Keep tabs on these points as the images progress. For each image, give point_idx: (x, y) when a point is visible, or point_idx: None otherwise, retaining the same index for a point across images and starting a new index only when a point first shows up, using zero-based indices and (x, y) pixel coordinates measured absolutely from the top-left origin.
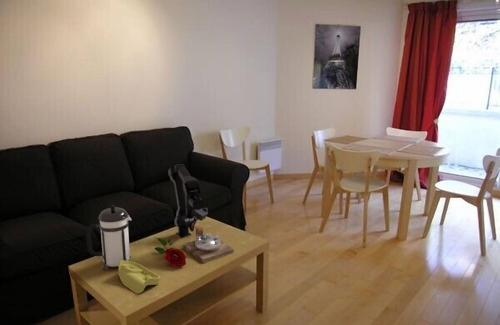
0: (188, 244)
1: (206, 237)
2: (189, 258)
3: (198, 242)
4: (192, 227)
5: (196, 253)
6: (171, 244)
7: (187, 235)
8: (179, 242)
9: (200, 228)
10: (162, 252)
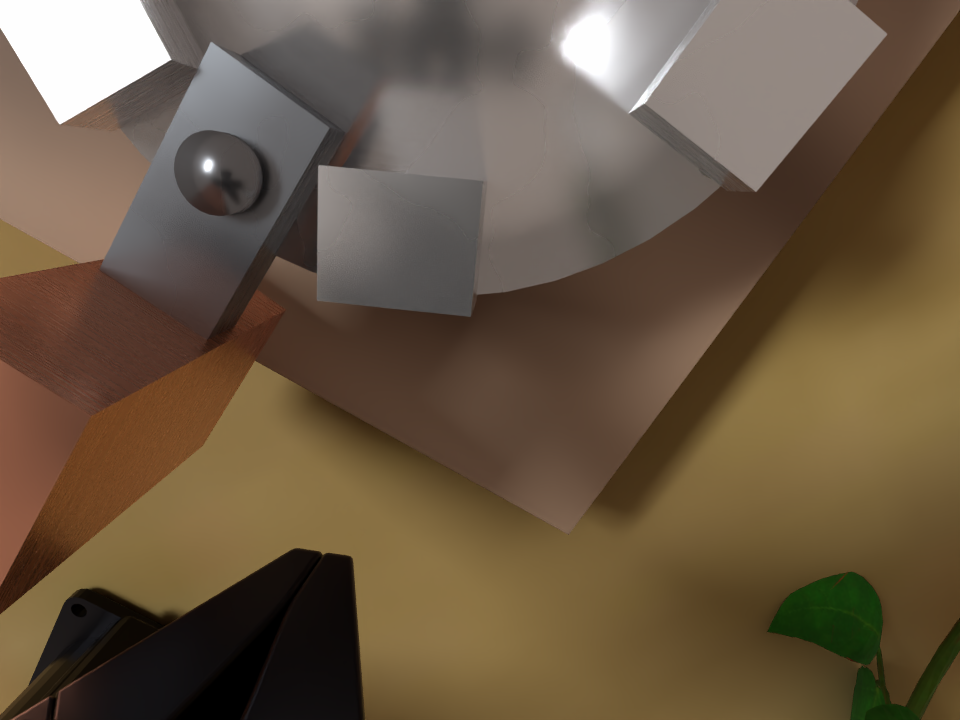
0: (541, 432)
1: (225, 46)
2: (949, 175)
3: (855, 8)
4: (330, 690)
5: (925, 29)
6: (882, 713)
7: (146, 624)
8: (411, 628)
9: (9, 369)
10: (857, 702)
